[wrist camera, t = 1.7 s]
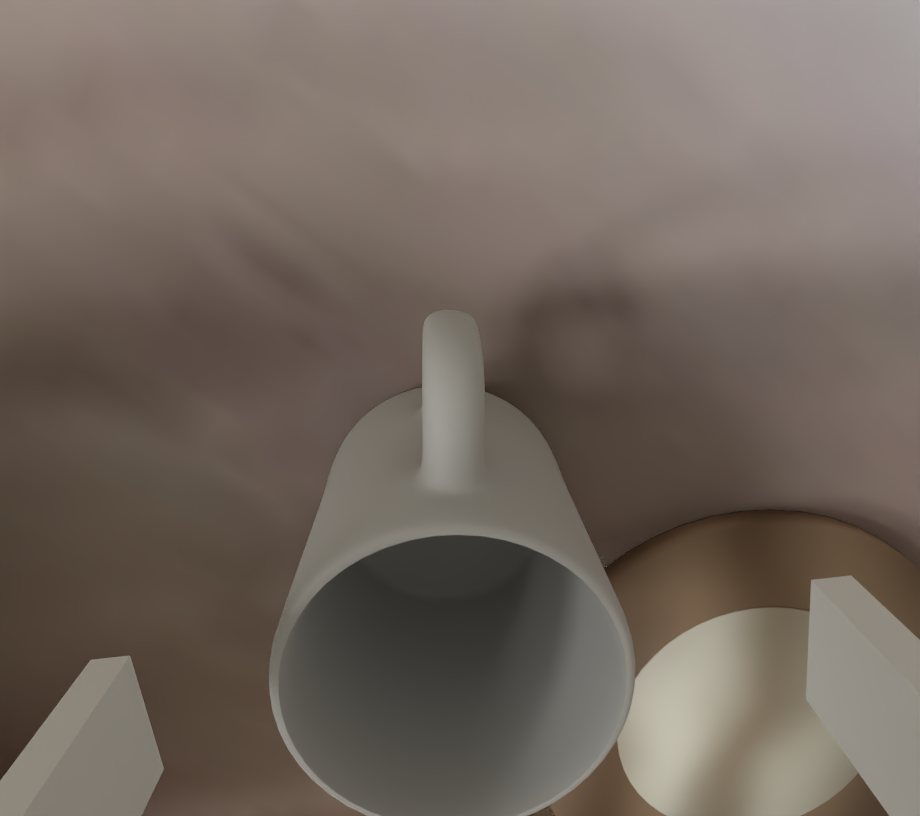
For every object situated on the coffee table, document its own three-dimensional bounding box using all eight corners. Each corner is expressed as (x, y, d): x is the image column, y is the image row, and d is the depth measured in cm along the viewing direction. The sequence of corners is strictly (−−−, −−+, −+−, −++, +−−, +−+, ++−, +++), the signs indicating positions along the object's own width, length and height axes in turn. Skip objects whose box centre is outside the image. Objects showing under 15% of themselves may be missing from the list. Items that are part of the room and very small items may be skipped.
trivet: (543, 886, 32) (553, 947, 30) (508, 539, 27) (516, 576, 24) (929, 839, 32) (973, 896, 30) (971, 483, 27) (1028, 514, 24)
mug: (552, 589, 28) (627, 832, 17) (335, 593, 27) (276, 843, 17) (568, 283, 24) (674, 355, 14) (319, 283, 24) (230, 356, 13)
